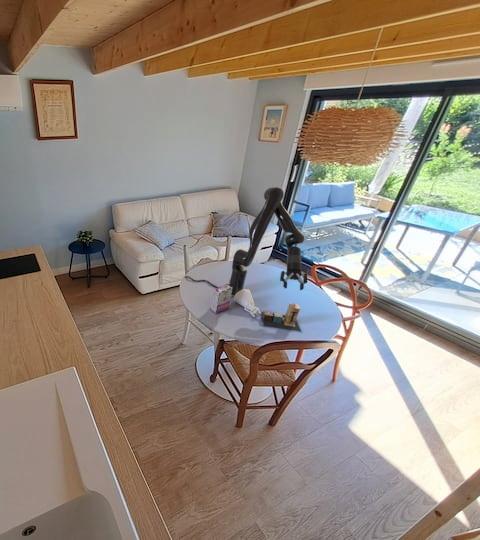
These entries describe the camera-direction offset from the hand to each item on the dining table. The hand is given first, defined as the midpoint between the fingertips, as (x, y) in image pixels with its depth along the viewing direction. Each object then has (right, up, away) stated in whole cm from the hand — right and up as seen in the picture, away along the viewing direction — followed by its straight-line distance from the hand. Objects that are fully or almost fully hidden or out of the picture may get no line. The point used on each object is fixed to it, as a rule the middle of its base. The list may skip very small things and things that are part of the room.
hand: (293, 289), depth 171 cm
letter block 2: (-9, -19, +3) cm, 22 cm away
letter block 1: (-14, -19, +4) cm, 24 cm away
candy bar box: (-40, -14, +14) cm, 44 cm away
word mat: (-7, -20, +2) cm, 22 cm away
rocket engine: (-23, -14, +14) cm, 30 cm away
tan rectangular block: (-2, -20, +2) cm, 20 cm away
